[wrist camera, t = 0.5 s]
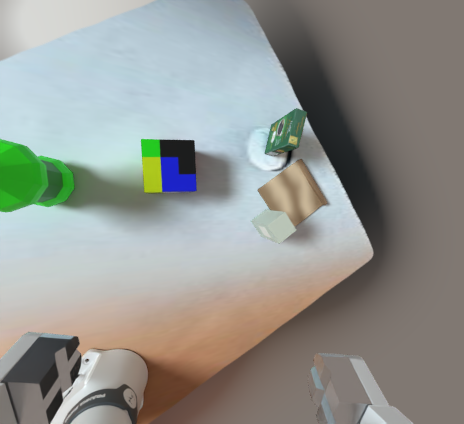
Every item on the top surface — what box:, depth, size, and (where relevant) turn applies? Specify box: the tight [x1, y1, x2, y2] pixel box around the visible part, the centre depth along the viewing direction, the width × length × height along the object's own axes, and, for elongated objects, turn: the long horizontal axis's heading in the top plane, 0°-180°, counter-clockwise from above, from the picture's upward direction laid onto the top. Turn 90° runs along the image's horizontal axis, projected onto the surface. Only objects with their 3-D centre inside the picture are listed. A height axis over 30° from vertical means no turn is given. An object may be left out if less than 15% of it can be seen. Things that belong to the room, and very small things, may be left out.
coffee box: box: [265, 108, 307, 156], centre depth 58 cm, size 8×3×13 cm, turn 166°
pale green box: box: [251, 210, 296, 244], centre depth 59 cm, size 5×5×11 cm
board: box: [258, 159, 327, 227], centre depth 65 cm, size 14×14×2 cm
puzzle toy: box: [141, 139, 197, 193], centre depth 53 cm, size 10×10×10 cm
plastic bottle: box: [0, 139, 74, 212], centre depth 40 cm, size 10×10×25 cm
